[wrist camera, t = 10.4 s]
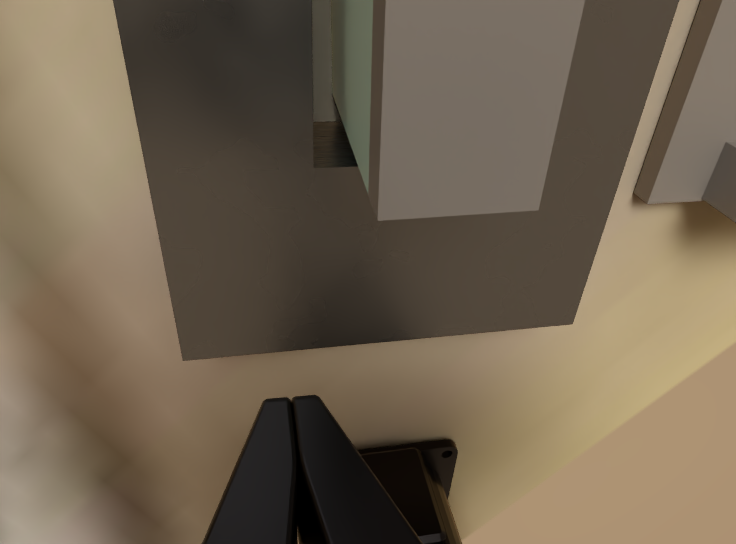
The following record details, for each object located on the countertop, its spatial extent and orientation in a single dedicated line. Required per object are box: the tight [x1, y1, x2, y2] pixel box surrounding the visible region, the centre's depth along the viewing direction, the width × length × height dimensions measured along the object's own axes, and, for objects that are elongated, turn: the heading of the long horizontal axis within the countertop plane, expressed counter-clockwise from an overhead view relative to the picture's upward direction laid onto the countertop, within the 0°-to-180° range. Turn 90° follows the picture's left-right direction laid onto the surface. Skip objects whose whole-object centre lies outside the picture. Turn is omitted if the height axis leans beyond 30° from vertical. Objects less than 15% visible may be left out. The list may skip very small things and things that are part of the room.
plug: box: [331, 0, 585, 221], centre depth 12 cm, size 5×3×7 cm, turn 179°
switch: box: [113, 0, 679, 361], centre depth 13 cm, size 18×12×3 cm, turn 177°
